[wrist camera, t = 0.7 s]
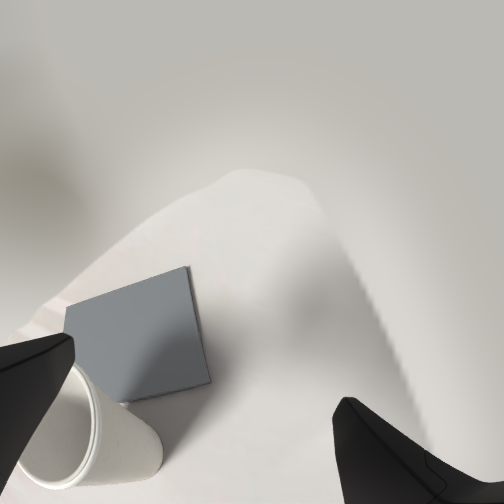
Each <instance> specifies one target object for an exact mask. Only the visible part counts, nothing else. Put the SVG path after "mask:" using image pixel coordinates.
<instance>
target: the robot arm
mask: <svg viewBox="0 0 504 504" xmlns="http://www.w3.org/2000/svg"><path fill="white" fill-rule="evenodd" d="M74 362H75V345H74V338H73V337H72V336H71V335H68V334H66V333H58V334H54V335H50V336H46V337H42V338H38V339H33V340H29V341H25V342H21V343H16V344H12V345H8V346H3V347H0V495H1V493H2V491H3V489H4V487H5V485H6V483H7V481H8V479H9V477H10V475H11V473H12V471H13V469H14V467H15V466H16V464H17V462H18V460H19V458H20V456H21V455H22V453H23V451H24V449H25V448H26V446H27V444H28V442H29V441H30V439H31V437H32V436H33V434H34V432H35V431H36V429H37V427H38V426H39V424H40V422H41V421H42V419H43V417H44V416H45V414H46V413H47V411H48V410H49V408H50V406H51V405H52V403H53V402H54V400H55V399H56V397H57V395H58V393H59V392H60V390H61V388H62V386H63V384H64V382H65V380H66V378H67V376H68V374H69V372H70V370H71V368H72V366H73V364H74ZM332 423H333V434H334V446H335V456H336V462H337V467H338V472H339V477H340V482H341V487H342V492H343V497H344V503H345V504H504V481H501V482H493V483H488V482H482V481H479V480H477V479H475V478H473V477H471V476H469V475H467V474H465V473H463V472H461V471H459V470H457V469H455V468H454V467H452V466H450V465H448V464H447V463H445V462H443V461H441V460H440V459H439V458H437V457H435V456H434V455H432V454H431V453H430V452H428V451H427V450H424V448H422V447H421V446H419V445H418V444H417V443H415V442H414V441H412V440H411V439H410V438H408V437H407V436H405V435H404V434H403V433H401V432H400V431H399V430H397V429H396V428H394V427H393V426H392V425H390V424H389V423H388V422H386V421H385V420H384V419H382V418H381V417H380V416H378V415H377V414H376V413H374V412H373V411H372V410H370V409H369V408H368V407H367V406H365V405H364V404H363V403H361V402H360V401H359V400H357V399H356V398H354V397H343V398H342V399H341V401H340V403H339V405H338V406H337V408H336V410H335V412H334V414H333V417H332Z"/></svg>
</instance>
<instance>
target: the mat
mask: <svg viewBox="0 0 504 504" xmlns="http://www.w3.org/2000/svg"><path fill="white" fill-rule="evenodd" d="M63 333H66V334H68V335H71V336H72V337H73V338H74V345H75V363H76V364H78V365H79V366H80V367H81V368H82V369H83V370H84V371H85V372H86V374H87V375H88V377H89V378H90V380H91V381H92V382H93V383H94V384H95V385H96V386H98V387H99V388H100V389H101V390H102V391H104V392H105V393H106V394H107V395H109V396H110V397H111V398H112V399H114V400H115V401H116V402H117V403H124V402H130V401H135V400H140V399H145V398H150V397H155V396H159V395H164V394H168V393H172V392H176V391H180V390H185V389H188V388H192V387H196V386H200V385H204V384H207V383H211V381H210V377H209V373H208V369H207V365H206V361H205V356H204V352H203V348H202V343H201V339H200V334H199V329H198V325H197V320H196V315H195V310H194V305H193V300H192V295H191V289H190V284H189V278H188V273H187V268H186V266H184V267H181V268H178V269H175V270H172V271H169V272H166V273H163V274H160V275H157V276H154V277H151V278H149V279H146V280H143V281H140V282H137V283H134V284H131V285H128V286H125V287H122V288H120V289H117V290H114V291H111V292H108V293H105V294H102V295H99V296H97V297H94V298H91V299H88V300H85V301H82V302H79V303H77V304H74V305H71V306H68V307H67V308H66V315H65V322H64V330H63Z"/></svg>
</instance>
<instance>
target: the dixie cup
mask: <svg viewBox="0 0 504 504" xmlns="http://www.w3.org/2000/svg"><path fill="white" fill-rule="evenodd" d="M162 460H163V447H162V443H161V440H160V438H159V436H158V434H157V433H156V432H155V430H154V429H153V428H152V427H150V426H149V425H148V424H146V423H145V422H144V421H142V420H141V419H140V418H138V417H136V416H135V415H133V414H132V413H131V412H129V411H128V410H127V409H125V408H124V407H123V406H121V405H120V404H119V403H117V402H116V401H115V400H114V399H112V398H111V397H110V396H109V395H107V394H106V393H105V392H104V391H102V390H101V389H100V388H99V387H98V386H96V385H95V384H94V383H93V382H92V381H91V380H90V378H89V377H88V375H87V374H86V372H85V371H84V370H83V369H82V368H81V367H80V366H79V365H78V364H76V363H75V362H74V364H73V366H72V368H71V370H70V372H69V374H68V376H67V378H66V380H65V382H64V384H63V386H62V388H61V390H60V392H59V393H58V395H57V397H56V399H55V400H54V402H53V403H52V405H51V406H50V408H49V410H48V411H47V413H46V414H45V416H44V417H43V419H42V421H41V422H40V424H39V426H38V427H37V429H36V431H35V432H34V434H33V436H32V437H31V439H30V441H29V442H28V444H27V446H26V448H25V449H24V451H23V453H22V455H21V456H20V458H19V460H18V464H19V466H20V467H21V469H22V470H23V471H24V472H25V474H26V475H27V476H28V477H29V478H30V479H32V480H33V481H34V482H36V483H37V484H39V485H41V486H43V487H45V488H48V489H53V490H63V489H67V488H70V487H73V486H96V485H109V484H119V483H128V482H136V481H142V480H146V479H148V478H150V477H152V476H154V475H155V474H156V473H157V471H158V470H159V468H160V466H161V464H162Z"/></svg>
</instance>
